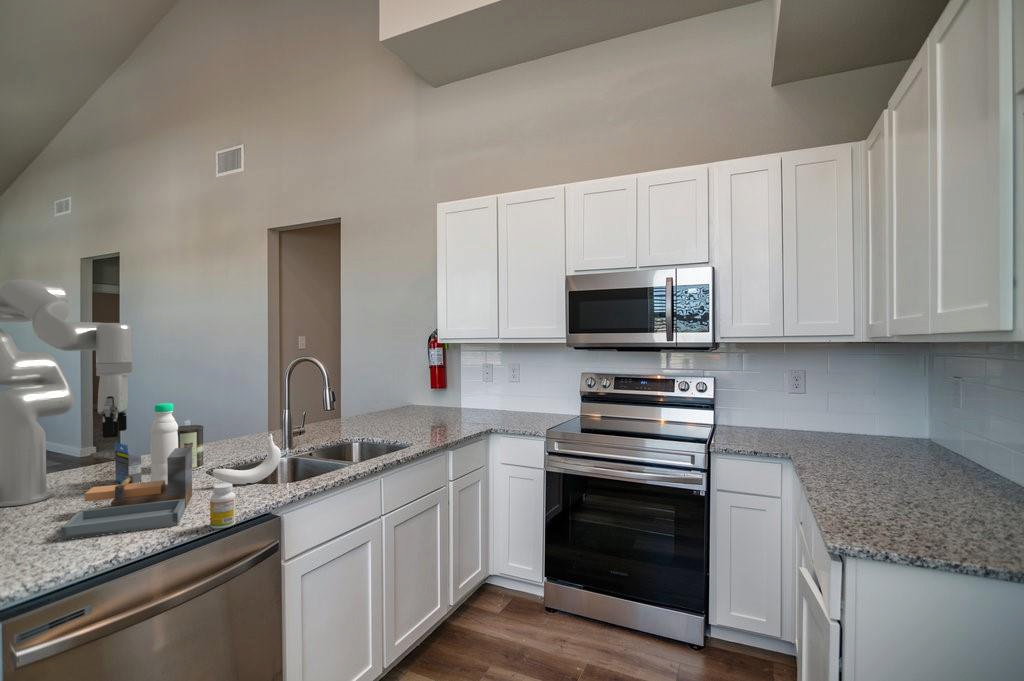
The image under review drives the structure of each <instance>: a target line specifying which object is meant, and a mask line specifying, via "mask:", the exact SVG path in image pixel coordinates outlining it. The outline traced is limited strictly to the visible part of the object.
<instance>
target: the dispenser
mask: <svg viewBox="0 0 1024 681" xmlns="http://www.w3.org/2000/svg"><path fill="white" fill-rule="evenodd" d="M167 466H168V484H165V488H164V490H163V491H162V493H160V494H151V495H142V496H133V497H125V496H124V487H125V486H126V485H127V484H130V483H133V476H126V477H125V480H124V481H123V482H122V483H120V484H116V485H117V486H116V487H115V498H114V499H111V502H110V507H116V506H125V505H133V504H142V503H151V502H160V501H169V500H178V499H185V510H186V509H187V507H188V505H189V503H190V501H191V499H192V497H193V471H192V447H185V448H175V449H174V450H173V452H172V453H171V454H170V455H169V456H168V458H167Z"/></svg>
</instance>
